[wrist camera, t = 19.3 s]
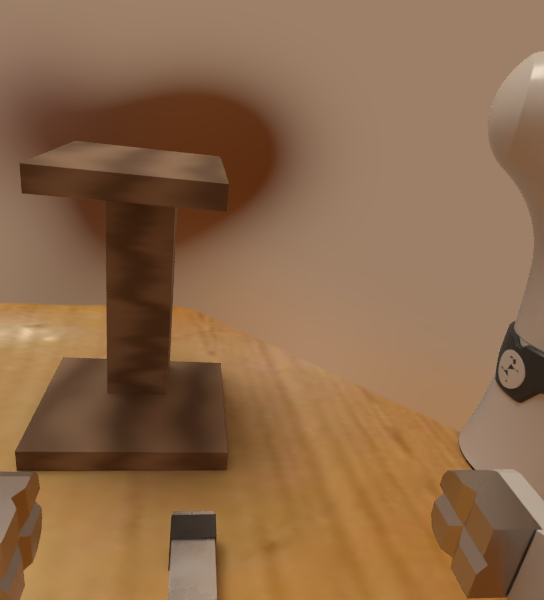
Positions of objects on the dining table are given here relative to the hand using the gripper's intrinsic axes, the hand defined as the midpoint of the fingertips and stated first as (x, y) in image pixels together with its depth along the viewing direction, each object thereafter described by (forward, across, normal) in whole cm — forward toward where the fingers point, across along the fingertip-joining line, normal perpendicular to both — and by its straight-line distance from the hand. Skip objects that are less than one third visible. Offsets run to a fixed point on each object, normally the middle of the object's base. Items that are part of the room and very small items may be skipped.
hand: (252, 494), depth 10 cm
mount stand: (+36, +6, +25) cm, 44 cm away
